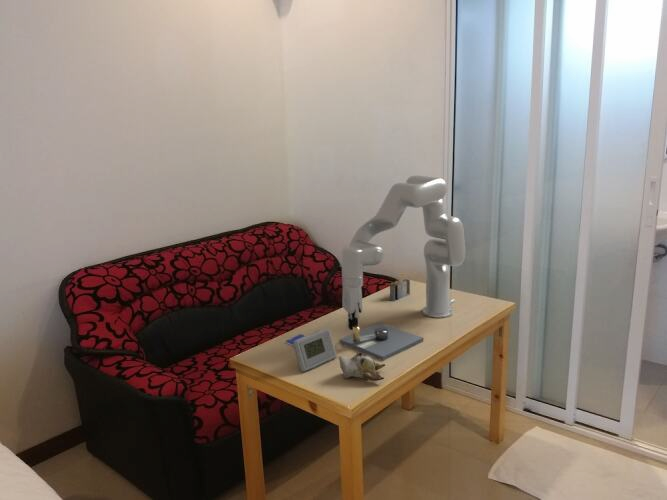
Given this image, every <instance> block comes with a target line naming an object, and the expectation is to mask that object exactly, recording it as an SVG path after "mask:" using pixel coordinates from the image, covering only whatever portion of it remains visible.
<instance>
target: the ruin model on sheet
mask: <svg viewBox="0 0 667 500" xmlns="http://www.w3.org/2000/svg"><path fill="white" fill-rule="evenodd" d="M410 295H411V280H410V279H408V278H404V279H401V280H397V281H394V282H390V284H389V297H390V298H389V300H390V301H392V302H396V300H397V301H399V300H401V299H403V298H406V297H408V296H410Z"/></svg>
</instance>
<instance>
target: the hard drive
mask: <svg viewBox="0 0 667 500" xmlns="http://www.w3.org/2000/svg"><path fill="white" fill-rule="evenodd" d="M303 336H306V334H305V335H304V334H298V335H296V336H293V337H291V338H288V339H286V340H285V343H286V344H288V345H290V346H292V347H294V346H293V342H294V341H295V340H297V339H300V338H302V337H303Z"/></svg>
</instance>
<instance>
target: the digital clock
mask: <svg viewBox="0 0 667 500" xmlns="http://www.w3.org/2000/svg"><path fill="white" fill-rule="evenodd" d="M292 347H293V349H294V352H295V353H294V354H295V355H296V359H297V363H298V366H299V367H298V368H299V370H300V371H301V372H307V371H309V370H311V371H312V370H313V369H315V368H318V367H319V366H321V365H324V364H326V363H328V362H330V361H333V360H335V359H336V357H337V352H336V349H335V346H334V342H333V338H332V335H331V332H330V329H329V328H328V327H325V328H322V329H320V330H317V331H314V332H311V333H309V334H305V336H303V337H302V338H300V339H297V340H295V341H294V342H293V346H292Z"/></svg>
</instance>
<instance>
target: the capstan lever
mask: <svg viewBox="0 0 667 500" xmlns="http://www.w3.org/2000/svg"><path fill="white" fill-rule="evenodd" d="M360 331H361V330H360V326H359V325H358V326H353V329H352V334H353V342H360V341H363V340H368V339H373V338H375V339H376V340H386V339H388V329H386V328H376V329H375V330H374V334H371V335H366V336H361V337H360Z"/></svg>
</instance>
